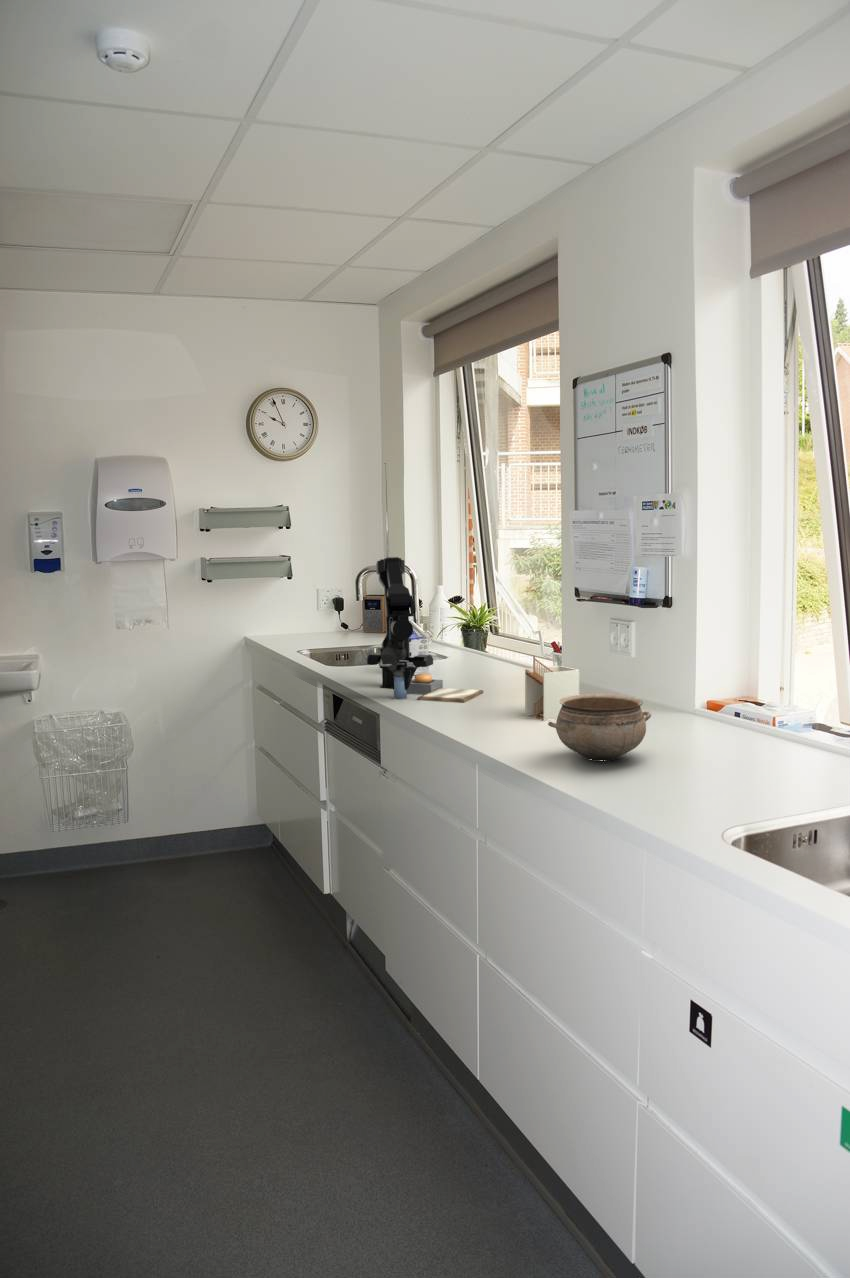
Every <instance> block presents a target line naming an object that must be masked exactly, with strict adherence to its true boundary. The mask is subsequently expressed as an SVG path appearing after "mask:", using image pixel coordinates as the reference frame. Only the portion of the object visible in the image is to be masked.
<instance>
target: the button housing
mask: <svg viewBox="0 0 850 1278" xmlns="http://www.w3.org/2000/svg"><path fill="white" fill-rule="evenodd" d="M443 683H444V682H443V679H432V678H431V682H429V683H416V682H415V678H412V680H411V683H410V685H409V688H408V690H407V694H409V695H410V694H413V695H424V694H426V693H429V692H433V691H435V690H437V689H440V688H444V687H443V686H444V684H443Z"/></svg>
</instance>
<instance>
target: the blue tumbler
mask: <svg viewBox="0 0 850 1278" xmlns="http://www.w3.org/2000/svg"><path fill="white" fill-rule="evenodd" d="M393 675H394V689H393V693H394V694H393V695H394V696H393V698H395V700H405V699H407V698H408V697H407V694H408V693H407V690H405V670H394V671H393Z"/></svg>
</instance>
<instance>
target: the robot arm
mask: <svg viewBox="0 0 850 1278" xmlns="http://www.w3.org/2000/svg"><path fill="white" fill-rule="evenodd" d="M375 564H376V565H375V567H376V569H375V571H376V573H375V574H376V575H378V582H379V583H380V584H381V586H382V587H383V591H384V616H385V618H384V619H385V636H384V638H383V640H382V642H381V648H379V652H373V653H370V654H368V655H367V657H366V664H367V665H373V666H377V665H378V664H379V665H378V666H379V668H380V669H381V673H382V675H381V677H382V678H381V679H382V684H381V685H379V686H380V688H387V689H388V688H389V689H392V690H394V675H393V671H394V670H405V690H408V688H409V685H410V683H411V680H413V679H414V676H415V675H414V673H415V671H416V669H417V668H419V667H428V666H429V667H430V666H433V665H434V657H433V656H432V654H428V655H417V656H414V657H410V656H411V652H410V647H409V642H411V638H409V637H410V636H411V635H413V634H414V633H413V631H414V627H413V624H412V623H411V621H410V617H415V614H416V605H415V598H414V597H413V596H412V595H411V594H410V590H409V588H408V587H406V585H404V580H403V579H404V578H403V575H404V574H405V573H406V571H405V570H406V569H405V567H406V565H405V564H406V563H405V560H404V559H401V557H398V556H393V557H392V556H391V557H390V556H388V557H387V556H386V558H381V559H379V560H377V561H376V563H375Z"/></svg>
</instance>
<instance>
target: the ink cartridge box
mask: <svg viewBox="0 0 850 1278" xmlns="http://www.w3.org/2000/svg"><path fill="white" fill-rule="evenodd" d="M409 638H411V642H409V647H410V652H411V656H410V657H414V656H417V655H429V638H428V637H425V636H418V635H417V633H416V630H413V633H412V635H411V636H410V637H409ZM415 674H430V666H428V667H419V668H417V669H416V671H415V673H414V675H413V676H415Z"/></svg>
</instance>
